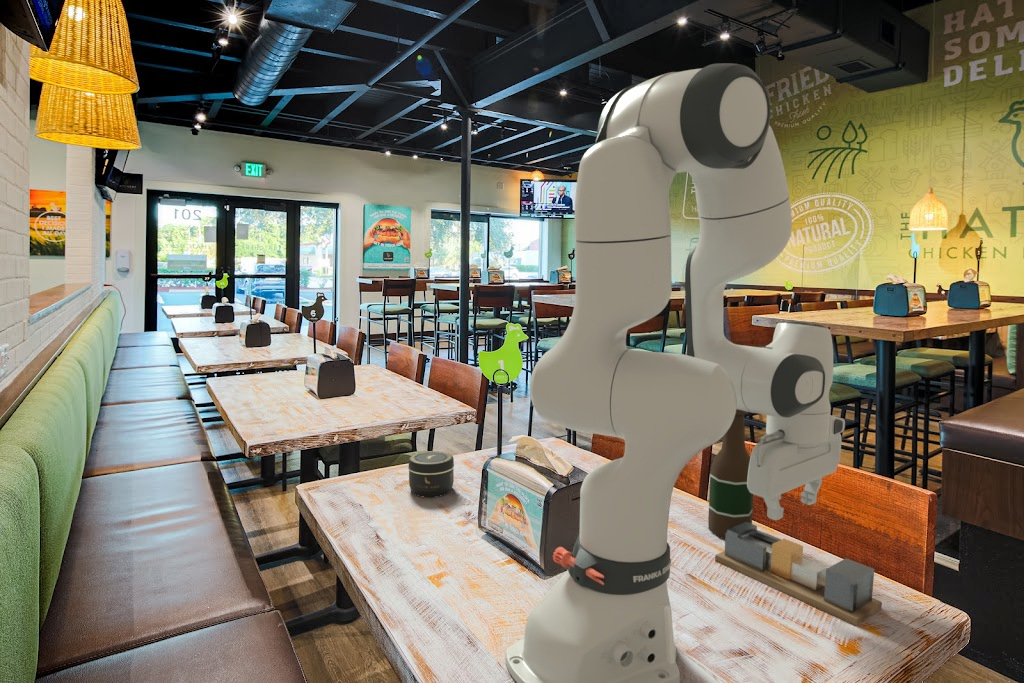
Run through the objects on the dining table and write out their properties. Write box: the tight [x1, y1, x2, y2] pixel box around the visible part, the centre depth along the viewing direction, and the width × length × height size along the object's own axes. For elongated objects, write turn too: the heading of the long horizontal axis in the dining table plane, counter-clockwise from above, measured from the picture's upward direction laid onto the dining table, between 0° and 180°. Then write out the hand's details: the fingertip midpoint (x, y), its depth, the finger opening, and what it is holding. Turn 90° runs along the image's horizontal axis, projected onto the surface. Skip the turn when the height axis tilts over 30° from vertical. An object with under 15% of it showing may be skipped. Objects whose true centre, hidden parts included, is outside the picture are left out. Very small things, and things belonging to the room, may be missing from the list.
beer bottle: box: [707, 409, 754, 539], centre depth 112 cm, size 8×8×24 cm
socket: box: [824, 557, 875, 613], centre depth 88 cm, size 6×4×5 cm
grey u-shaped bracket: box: [724, 522, 783, 572], centre depth 101 cm, size 5×7×5 cm
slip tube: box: [741, 535, 828, 590], centre depth 97 cm, size 3×14×5 cm, turn 35°
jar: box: [407, 450, 455, 498], centre depth 134 cm, size 10×10×8 cm
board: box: [714, 550, 883, 626], centre depth 95 cm, size 8×23×1 cm, turn 35°
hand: (792, 510), depth 95 cm, fingers open, 8 cm apart
